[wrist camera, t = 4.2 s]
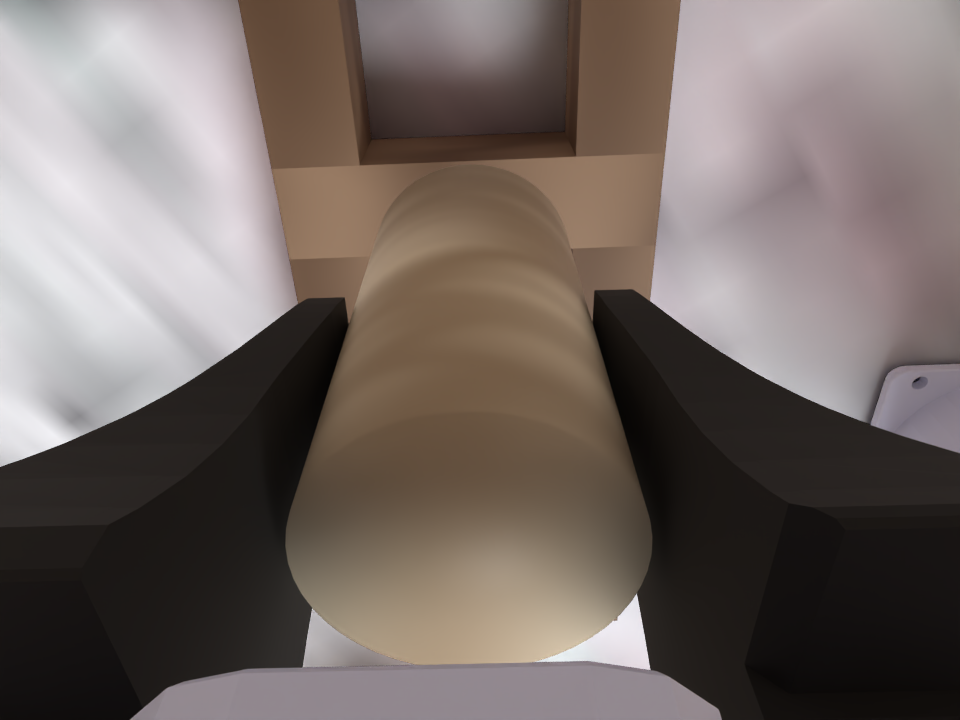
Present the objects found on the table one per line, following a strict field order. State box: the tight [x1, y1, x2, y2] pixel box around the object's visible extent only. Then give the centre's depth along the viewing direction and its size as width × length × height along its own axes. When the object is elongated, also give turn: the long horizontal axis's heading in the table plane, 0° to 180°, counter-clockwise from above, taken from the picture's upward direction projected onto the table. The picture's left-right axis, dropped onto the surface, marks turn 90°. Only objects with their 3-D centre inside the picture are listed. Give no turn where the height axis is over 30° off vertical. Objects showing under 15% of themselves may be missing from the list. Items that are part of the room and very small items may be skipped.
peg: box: [285, 164, 652, 665], centre depth 11 cm, size 4×4×8 cm
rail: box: [238, 0, 681, 621], centre depth 22 cm, size 10×26×3 cm, turn 2°
